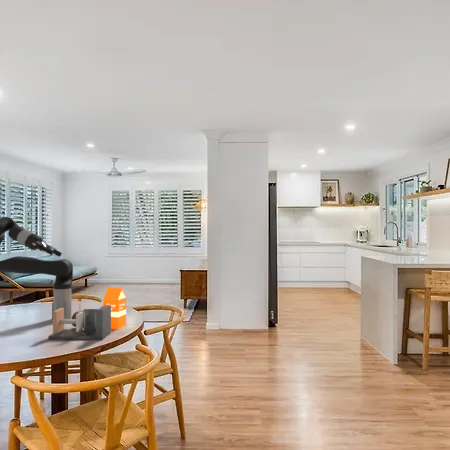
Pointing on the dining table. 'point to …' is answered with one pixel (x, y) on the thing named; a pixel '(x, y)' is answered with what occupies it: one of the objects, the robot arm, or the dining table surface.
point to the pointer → (79, 319)
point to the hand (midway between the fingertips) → (56, 254)
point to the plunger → (60, 320)
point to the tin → (75, 317)
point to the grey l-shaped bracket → (89, 326)
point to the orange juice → (116, 306)
